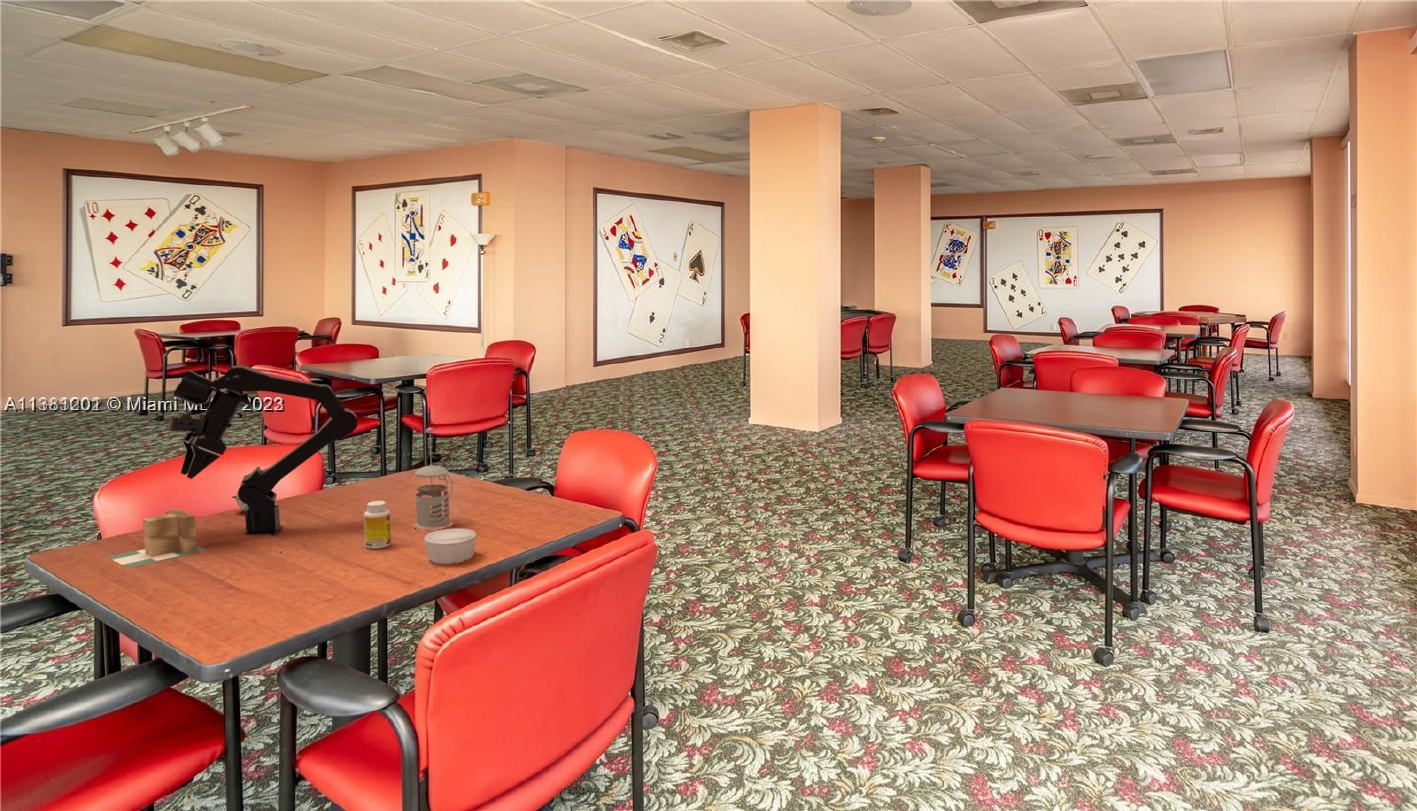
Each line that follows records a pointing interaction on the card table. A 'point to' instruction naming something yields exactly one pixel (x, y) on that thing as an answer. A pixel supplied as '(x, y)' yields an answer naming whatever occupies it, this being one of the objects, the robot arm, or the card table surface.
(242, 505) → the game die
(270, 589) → the card table surface
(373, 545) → the supplement bottle
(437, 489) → the french press
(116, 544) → the card table surface
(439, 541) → the ramekin
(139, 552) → the board
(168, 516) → the oak t block
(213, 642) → the card table surface
